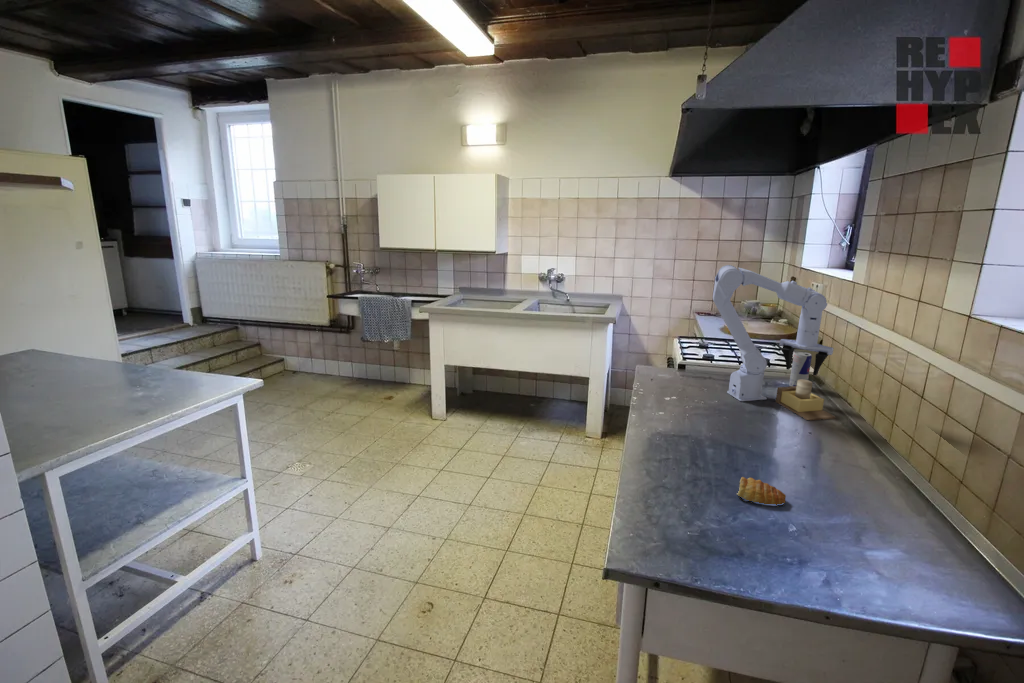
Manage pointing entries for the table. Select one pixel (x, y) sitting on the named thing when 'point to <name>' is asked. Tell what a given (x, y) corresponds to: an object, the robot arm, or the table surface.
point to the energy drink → (800, 367)
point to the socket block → (802, 402)
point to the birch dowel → (803, 389)
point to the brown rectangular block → (807, 414)
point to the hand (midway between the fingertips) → (801, 371)
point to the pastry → (760, 492)
